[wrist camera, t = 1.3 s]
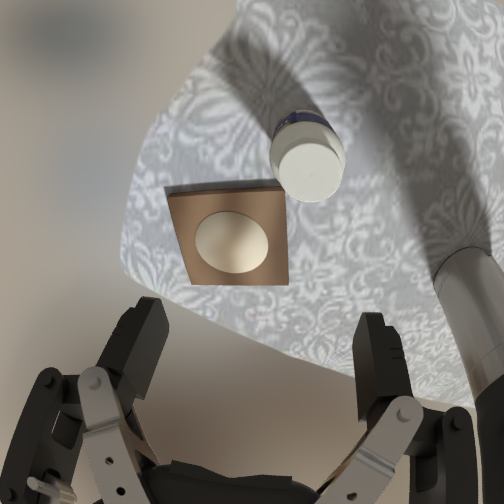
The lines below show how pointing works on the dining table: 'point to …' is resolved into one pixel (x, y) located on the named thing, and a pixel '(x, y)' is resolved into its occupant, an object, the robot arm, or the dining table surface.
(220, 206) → the rest board
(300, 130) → the pill bottle
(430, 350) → the dining table surface
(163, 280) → the dining table surface
